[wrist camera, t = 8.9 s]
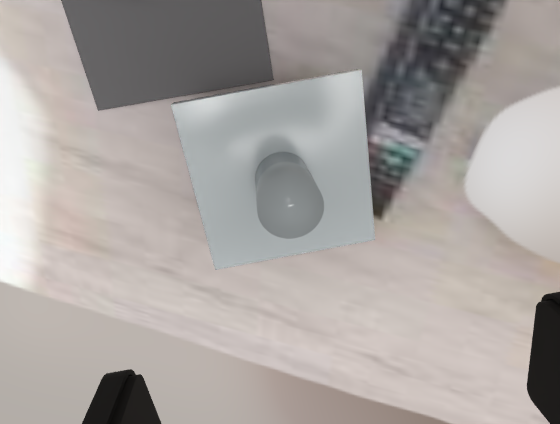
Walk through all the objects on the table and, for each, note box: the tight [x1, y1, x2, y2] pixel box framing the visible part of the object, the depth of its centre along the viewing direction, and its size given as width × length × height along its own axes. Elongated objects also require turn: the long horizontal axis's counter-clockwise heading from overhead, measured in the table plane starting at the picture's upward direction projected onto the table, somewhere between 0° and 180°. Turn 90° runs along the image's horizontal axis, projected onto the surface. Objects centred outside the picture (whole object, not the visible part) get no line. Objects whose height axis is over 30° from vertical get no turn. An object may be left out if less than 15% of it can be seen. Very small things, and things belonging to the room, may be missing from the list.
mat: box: [61, 0, 274, 111], centre depth 29 cm, size 14×10×1 cm
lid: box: [171, 69, 375, 270], centre depth 22 cm, size 11×11×6 cm
